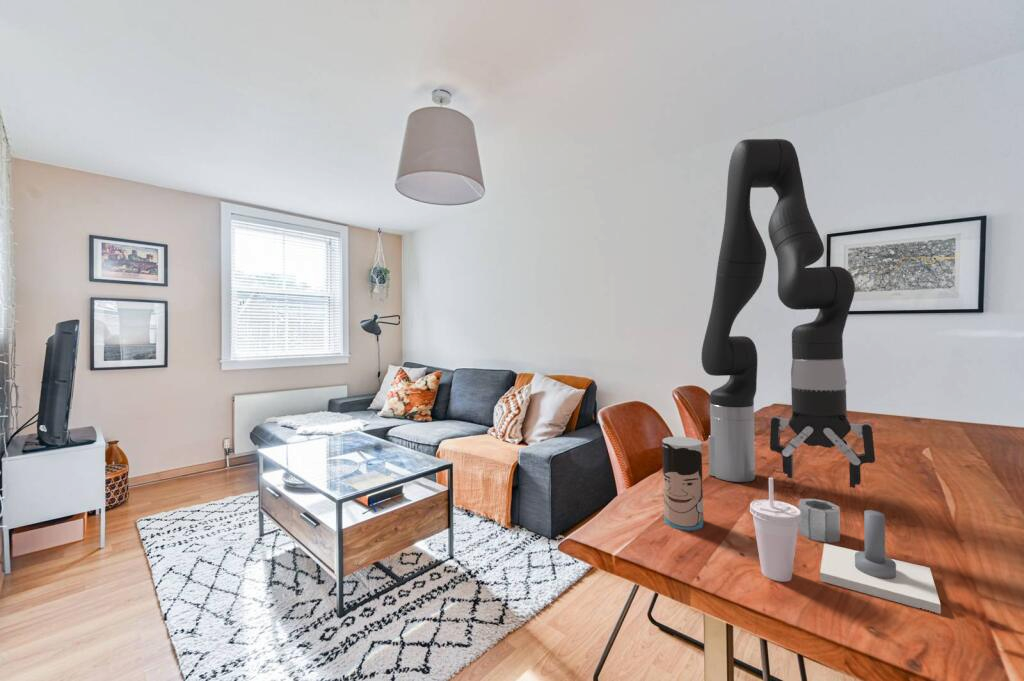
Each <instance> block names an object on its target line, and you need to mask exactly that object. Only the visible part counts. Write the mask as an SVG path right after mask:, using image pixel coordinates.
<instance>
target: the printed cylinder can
mask: <svg viewBox="0 0 1024 681" xmlns="http://www.w3.org/2000/svg"><path fill="white" fill-rule="evenodd" d="M661 444H662V482H663V483H662V484H663V486H662V487H663V522H666V523H667V524H666V523H665V524H666V525H667V526H669V525H670V527H671V528H674V529H677V530H680V531H681V530H683V531H696V530H699V529H701V528H703V527H704V505H703V504H704V502H703V494H704V492H703V456H702V455H703V452H702V447H703V446H702V444H703V443H702V441H701V440H700V439H696V438H694V437H687V436H668V437H665V438H663V439H662V442H661Z"/></svg>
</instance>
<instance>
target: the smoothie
mask: <svg viewBox="0 0 1024 681" xmlns="http://www.w3.org/2000/svg"><path fill="white" fill-rule="evenodd" d="M774 497H775V495H774V478H773V477H768V499H757V500H753V501H751V502H750V503H749V512H750V513H751V515H752V517H753V518H752V519H753V525H754V533H755V536H756V538H755V539H756V545H757V552H758V557H759V558H758V559H759V563H760V571H761V573H762V575H763V576H765V577H766V578H768V579H770V580H772V581H776V582H783V583H784V582H785V583H786V582H790V581H791V580H792V576H793V569H794V564H795V563H794V560H795V554H796V553H795V552H796V547H797V540H798V533H799V522H801V521H802V517H801V511H800V510H799V509H798V506H797V507H796V506H795V505H793V504H792V503H791V504H790V503H789V502H788V503H787V502H785V501H784V502H783V501H780V500H775V499H774Z"/></svg>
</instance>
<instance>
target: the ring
mask: <svg viewBox="0 0 1024 681" xmlns="http://www.w3.org/2000/svg"><path fill="white" fill-rule="evenodd" d="M797 504H798V506H797V508H798V509H799V510H800V511H801V517H802V521H801V522H799V525H798V533H799V534H800V535H802V536H804V537H805V538H807V539H810V540H813V541H817V542H821V543H826V544H831V543H839V542H840V539H841V520H840V519H841V517H840V516H841V515H840V513H841V512H840V511H841V510H840V509H841V508H840V506H839V505H837V504H835V503H832V502H830V501H827V500H823V499H817V498H801V499H799V500H798V503H797Z"/></svg>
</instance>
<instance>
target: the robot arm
mask: <svg viewBox="0 0 1024 681" xmlns="http://www.w3.org/2000/svg"><path fill="white" fill-rule="evenodd" d="M798 157H799V156H798V153H797V151H796V148H795V146H794V144H793V143H792V142H791V141H790V140H787V139H783V138H761V139H759V138H757V139H756V138H754V139H753V138H751V139H750V138H749V139H748V138H747V139H743V140H742V139H741V140H740V141H739V142H738V143H737V144H736V145H735V146H734V148H733V151H732V153H731V156H730V160H729V165H728V171H727V186H726V198H725V199H726V202H725V214H724V215H725V216H724V224H723V231H722V237H721V243H720V249H719V256H718V259H717V260H718V262H717V268H716V273H715V274H716V275H715V286H714V292H713V296H712V305H711V310H710V315H709V318H708V322H707V323H708V324H707V327H706V330H705V334H704V339H703V342H702V348H701V365H702V368H703V370H704V372H705V373H706V374H707V375H709V376H714V377H716V376H717V377H719V376H721V377H723V376H725V377H727V376H729V377H728V380H727V382H726V383H724V384H723V385H722V386H720V387H717V388H716V389H713V390H712V391H711V392H710V394H709V405H710V406H709V411H710V435H708V440H707V441H708V476H710V475H711V476H712V477H714V476H715V478H717V479H719V480H723V481H727V482H733V483H749V482H752V481H754V480H756V466H755V464H756V462H755V461H756V459H755V458H756V455H755V453H756V452H755V448H756V447H755V414H754V413H755V408H754V407H755V406H754V405H755V404H754V403H755V396H756V394H757V385H758V384H757V382H758V381H757V379H758V351H757V347H756V344H755V342H754V340H753V339H751V338H750V337H749V336H746V335H736V336H735V335H732V336H730V334H731V331H732V327H733V324H734V323H735V320H736V318H737V317H738V316H739V314H740V312H741V311H743V309H744V308H745V306H747V305H748V303H749V301H750V300H751V299H752V298H753V297H754V295H755V294H756V293H757V291H758V290H759V288H760V286H761V284H762V283H763V282H762V281H763V277H764V271H765V267H766V261H767V249H766V245H765V242H764V241H763V238H762V236H761V233H760V232H759V230H758V228H757V225H756V224H755V221H754V218H753V216H752V212H751V192H752V188H753V189H757V188H762V189H763V188H764V189H765V188H767V189H768V188H772V189H773V190H774V191H775V193H776V195H777V197H778V199H777V201H776V204H775V207H774V209H773V211H772V212H771V215H770V218H769V221H768V227H767V228H768V236H769V240H770V242H771V245H772V248H773V251H774V253H775V256H776V258H777V274H778V276H777V295H778V298H779V300H780V302H781V303H782V304H783V305H784V306H785V307H787V308H789V309H791V310H798V311H799V310H800V311H803V310H819V311H818V313H817V316H816V317H815V319H814V320H813V321H811V322H807V323H802V324H800V325H797V326H795V327H794V328H793V329H792V332H791V356H792V359H791V369H790V379H791V380H790V381H791V383H790V385H791V387H790V390H791V417H790V418H785V417H781V416H780V415H774V416H773V417H772V418H771V419H770V436H769V438H770V439H769V450H770V451H772V452H775V453H779V454H780V456H781V457H782V472H783V474H784V475H787V476H786V477H787V478H788V479H793V478H794V455H793V453H794V452H795V450H796V449H798V448H799V447H800V446H801V445H802V443H804V444H805V445H807V446H810V447H817V446H821V447H822V448H828V449H831V448H833V447H836V448H837V449H838V450H839V451H840V453H842V455H844V456H845V457H846V458H847V460H849V462H848V463H849V464H848V466H849V467H848V469H849V470H848V471H849V472H848V473H849V488H854V489H856V485H857V486H859V485H860V484H861V483H862V482H861V481H862V478H861V477H862V476H861V466H862V465H864V464H873V463H875V462H876V456H875V447H874V436H873V429H872V424H871V423H869V422H863V423H850V422H849V420H848V416H847V415H848V414H847V410H848V409H847V379H846V377H847V376H846V368H845V364H844V346H843V343H844V341H843V335H844V330H845V327H846V323H847V319H848V315H849V312H850V309H851V306H852V303H853V300H854V296H855V290H856V284H855V280H854V278H853V276H852V274H851V273H850V272H849V270H847V269H846V268H845V267H841V266H819V267H818V266H817V267H816V266H815V267H809V266H811V265H813V264H815V263H816V262H818V261H820V259H821V258H822V257H823V255H824V253H825V252H824V251H825V246H824V244H823V241H822V238H821V236H820V233H819V230H818V229H817V226H816V225H815V223H814V220H813V218H812V216H811V214H810V211H809V207H808V204H807V199H806V194H805V187H804V183H803V182H804V181H803V177H802V172H801V166H800V161H799V158H798ZM786 426H789V427H790V428H791V430H792V431H793V432H794V433H795V434H796V435H795V436H793V438H792V439H791V440H790V441H789V442H788V443H787V444H786V445H783V444H781V431H784V430H785V429H786ZM851 431H853V432H855V434H856V435H855V436H857V437H858V438H861V439H862V441H863V450H864V453H857V452H856V451H855V449H854V448H853V447H852V446H851V444H850V443H848V441H847V440H846V439H845V437H846V436H847V435H848V434H850V432H851ZM711 476H710V477H711Z"/></svg>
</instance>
